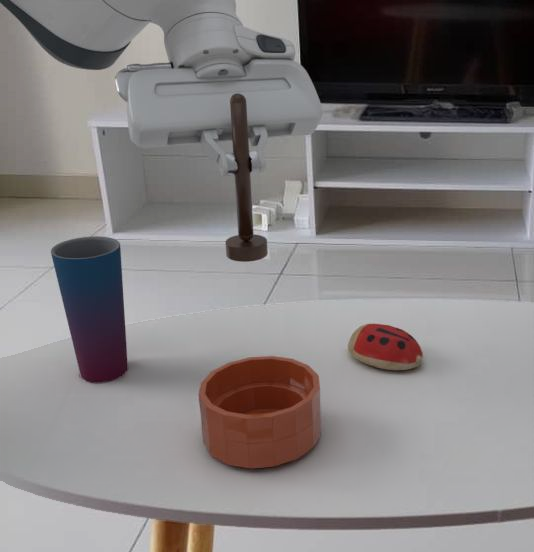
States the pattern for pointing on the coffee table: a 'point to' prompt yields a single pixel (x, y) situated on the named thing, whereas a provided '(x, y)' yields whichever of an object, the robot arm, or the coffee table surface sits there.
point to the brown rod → (243, 190)
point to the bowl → (260, 411)
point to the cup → (93, 304)
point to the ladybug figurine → (385, 347)
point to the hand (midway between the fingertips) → (244, 171)
